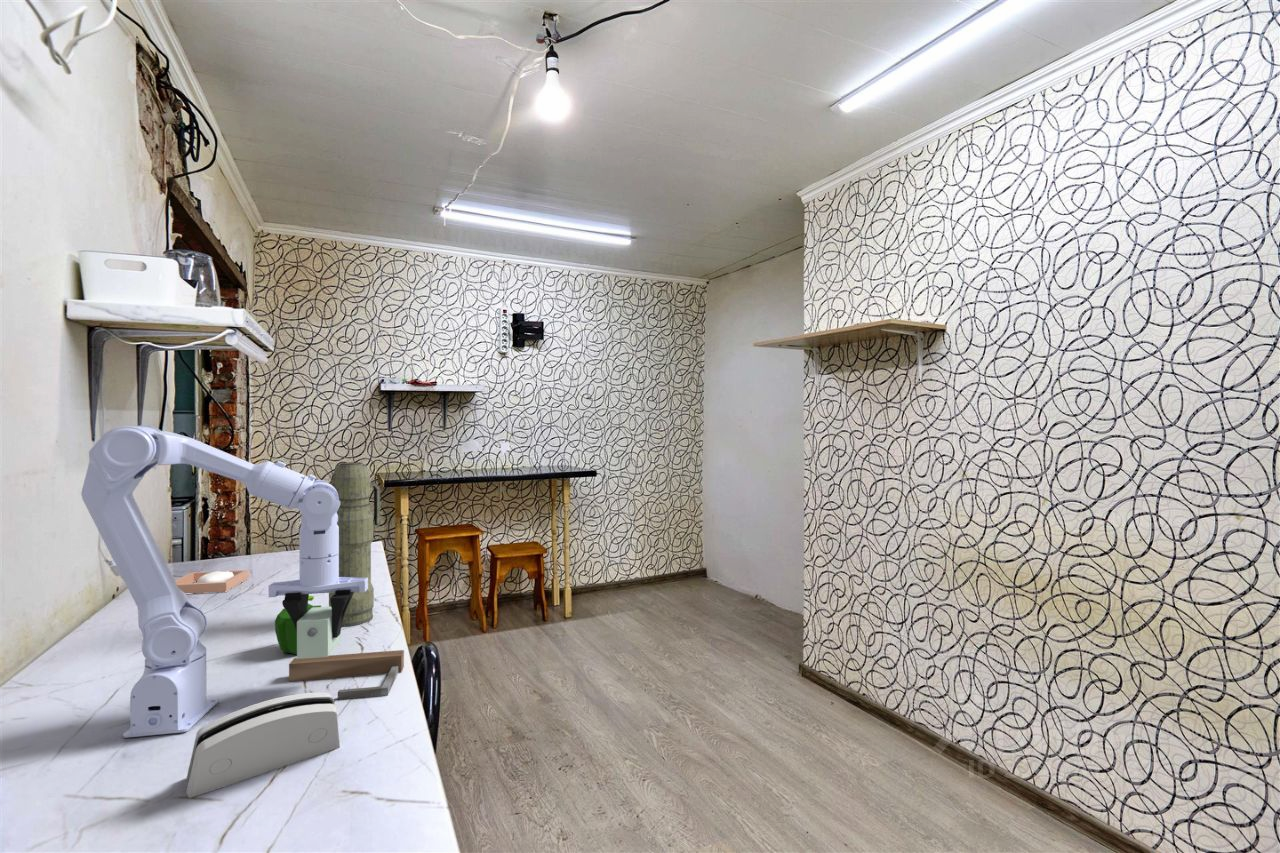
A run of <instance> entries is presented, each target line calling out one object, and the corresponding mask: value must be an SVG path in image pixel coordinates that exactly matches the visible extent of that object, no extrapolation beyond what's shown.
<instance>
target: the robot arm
mask: <svg viewBox="0 0 1280 853" xmlns="http://www.w3.org/2000/svg"><path fill="white" fill-rule="evenodd" d="M88 457H89V458H88V459H89V461H88V462H89V463H88V466H87V469H86V473H85V477H84V481H83V486H82V488H81V492H80V494H81V499H82V501H83V503H84V505H85V507H86V509H87V511H88V513H89V514H90V517H91V518H92V522H93V523H94V525H95V527H96V529H97V531H98V532H99V535H100V536H101V539H102V540H103V542H104V544H105V546H106V549H107V551H108V552H109V554H110V556H111V558H112V560H113V562H114V564H115V566H116V567H117V569H118V572H119V574H120V575H121V578H122V580H123V582H124V584H125V585H126V587H127V589H128V591H129V593H130V596H131V597H132V599H133V601H134V603H135V605H136V607H137V618H138V619H137V621H138V628H139V630H140V631H141V635H142V644H141V652H142V655H143V657H144V658H145V659H144V671H143V674H142V676H141V677H140V678H139V679H138V681H137V682H136V683H134V686H133V687H132V688H131V691H130V695H129V696H130V698H129V699H130V700H129V701H130V702H129V703H130V706H129V709H130V710H129V711H130V712H129V713H130V717H129V718H130V720H129V721H130V722H129V724H130V728H129V729H128V730H126V731H125V732H124V733H122V737H123V738H124V739H126V738H134V737H135V738H137V737H146V736H157V735H167V734H168V735H169V734H177V733H179V734H180V733H185V732H188V731H189V730H190V729H191V728H192V727H193V726H195V724H196V723H198V722H199V721H200V719H202V718H203V717H204V716H205V715H206V714H207V713H208V712H209V711H210V710H212V708H213V707H214V706H216V705H217V703H219V701H220V699H219V698H218V697H216V698H207V647H206V646H205V645H204V644H203V643H202V641H201V640H200V638H201V636H202V635H203V634H204V632H205V631H206V628H207V625H208V619H207V616H206V614H205V613H204V611H203V610H202V609H201V608H199V607H198V606H196V605H195V604H193V603H192V602H191V600H190V598H189V596H188V594H185V593H184V592H183V591H181V590H180V589H179V588H178V586H177V584H176V582H175V580H176V579H175V578H174V576H173V574H172V573H171V570H170V569H169V567H168V564H167V562H166V560H165V558H164V556H163V554H162V552H161V550H160V548H159V546H158V543H157V542H156V539H155V538H154V536H153V534H152V532H151V529H150V528H149V526H148V524H147V522H146V520H145V517H144V516H143V513H142V511H141V509H140V507H139V505H138V503H137V502H136V499H135V497H134V495H133V494H134V492H135V490H136V489H137V487H138V486H139V484H140V482H141V481H142V480H143V478H144V477H145V475H146V474H147V473H148V472H149V471H150V470H152V469H153V468H154V467H155V466H169V465H170V466H171V465H184V464H185V465H190V466H193V467H195V468H199V469H202V470H205V471H208V472H209V473H210V472H211V473H213V474H217V475H220V476H222V477H225V478H229V479H231V480H235V481H237V482H241V483H243V484H245V486H246V490H247V492H248V494H249V495H251V496H254V497H256V498H259V499H262V500H265V501H267V502H271V503H273V504H276V505H279V506H280V507H284V508H285V509H286V508H287V509H290V510H293V509H298V510H299V513H300V515H301V520H300V521H301V523H300V524H301V527H300V528H299V531H298V532H299V535H298V536H299V545H298V546H299V548H298V549H299V579H294V580H286V581H274V582H272V583H270V584H269V585H268V598H276V597H277V596H278V597H280V596H284V598H283V600H282V601H281V602H282V603H281V604H282V606H283V609H284V608H285V609H286V611H287V612H288V614H289V615H290V617H291V619H292V621H293V624H294V626H295V629H296V632H297V621H298V620H299V619H300V618H301V617H302V616H304V615H305V614H306V613H307V607H308V604H309V601H308V598H309V596H310V595H314V594H315V595H317V594H329V593H335V595H333V596H332V597H331V598H330V602H331V608H332V637H333V638H337V637H338V636H339V635H340V632H341V633H342V631H341V630H342V627H341V626H342V622H343V618H344V615H345V612H346V609H347V607H348V604H349V602H350V600H351V598H352V596H353V594H354V591H359V592H365V591H366V590H367V589H368V578H350V577H339V526H338V525H337V522H338V514H337V511H338V509H339V506H340V501H339V497H338V493H337V491H336V489H335V488H334V487H333V486H332V485H331V484H332V483H328V482H327V481H326V480H325V479H324V480H323V479H317V477H316V476H315V475H313V474H309V476H308V475H305V474H302V473H300V472H298V471H295V470H293V469H289V468H287V467H286V466H287V464H286V463H285V462H283V461H280V460H277V461H276V463H275V462H272V461H269V460H267V461H263V462H261V463H257V464H254V463H252V462H249V461H247V460H244V459H242V458H240V457H238V456H235V455H232V454H231V453H228V452H225V451H224V450H221V449H217V448H216V447H213V446H212V445H208V444H206V443H204V442H202V441H200V440H198V439H195V438H192V437H189V436H185V435H183V434H180V433H176V432H173V431H172V432H171V431H168V430H163V431H162V430H161V429H159V428H157V427H154V426H152V425H146V424H140V425H121V426H116V427H113V428H111V429H109V430H108V431H106V432H104V434H102V436H100V438H99V439H98V440H97V441H96V442H95V443H94V445H93V446H92V447H91V449H90V450H88ZM316 479H317V480H316Z"/></svg>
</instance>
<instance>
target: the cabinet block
mask: <svg viewBox="0 0 1280 853" xmlns="http://www.w3.org/2000/svg"><path fill="white" fill-rule="evenodd" d="M341 635H342V631H341V632H340V635H339V636H338V637H337V638H333V637H332V608H331V607H329V606H321V607H314V608H311V609H310V610H309V611H308V612H307V613H306V614H305V615H304V616H302V617H301V618H300V619H299V620H298V621H297V654H296V658H297V659H305V658H318V657H328V656H330V655H331V654H332V653H333V651H334V650H335V649H336V647H337V646H338V645H339V643H340V642H341V640H342V636H341Z"/></svg>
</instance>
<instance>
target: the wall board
mask: <svg viewBox="0 0 1280 853" xmlns="http://www.w3.org/2000/svg"><path fill="white" fill-rule="evenodd" d="M404 667H405V650H404V649H399V650H384V651H374V652H372V651H371V652H362V653H361V652H359V653H357V652H356V653H344V654H334V655H332V654H330V655H329V656H328V657H318V658H305V659H297V657H294V658H293V659H292V660H291V661H290V662H289V663H288V682H301V681H311V680H312V681H313V680H325V679H337V678H348V677H360V676H361V675H362V676H373V675H374V674H375V675H382V674H383V675H386V674H387V677H385V680H384V681H383V684H382V685H381V686H370V687H369V686H368V687H359V688H357V687H356V688H347V689H345V688H344V689H339V690H338V691H337V700H339V701H340V700H349V699H359V698H360V699H361V698H372V697H382V696H384V697H385V696H389V694H390V691H391V689H392V687H393V685H394V682H395V681H396V679H397V676H398V674H400V673H402V672H403V669H404ZM362 676H361V677H362Z"/></svg>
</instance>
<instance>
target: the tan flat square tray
mask: <svg viewBox="0 0 1280 853" xmlns="http://www.w3.org/2000/svg"><path fill="white" fill-rule="evenodd" d="M220 571H221V572H227V571H229V572H232V573H233V575H234V576H233V577H232V578H230V579H228V580H226V581H224V582H210V583H198V582H194V581H198V579H199V578H200V577H201V576H203V575H205V574H208V573H211V572H216V571H215V570H213V571H194V572H193V571H192V572H190V573H187V574H185V575H183V576H181V577H179V578H177V579H174V580H175V582H176V584H177V586H178V588H179V589H180V590H181V591H183V592H184V593H204V592H224V593H226V592H225V591H228V590H229V589H231V588H233V587H234V586H236V585H238V584H239V583H241V582H243V581H244V580H246V579H247V578H249V579H250V570H249V569H238V570H220ZM246 581H247V580H246ZM192 582H194V583H192ZM244 582H245V581H244ZM244 582H243V583H244ZM241 584H242V583H241ZM239 585H240V584H239ZM239 585H238V586H239ZM236 587H237V586H236ZM234 588H235V587H234ZM234 588H233V589H234ZM231 590H232V589H231ZM229 591H230V590H229ZM229 591H228V592H229Z"/></svg>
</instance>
